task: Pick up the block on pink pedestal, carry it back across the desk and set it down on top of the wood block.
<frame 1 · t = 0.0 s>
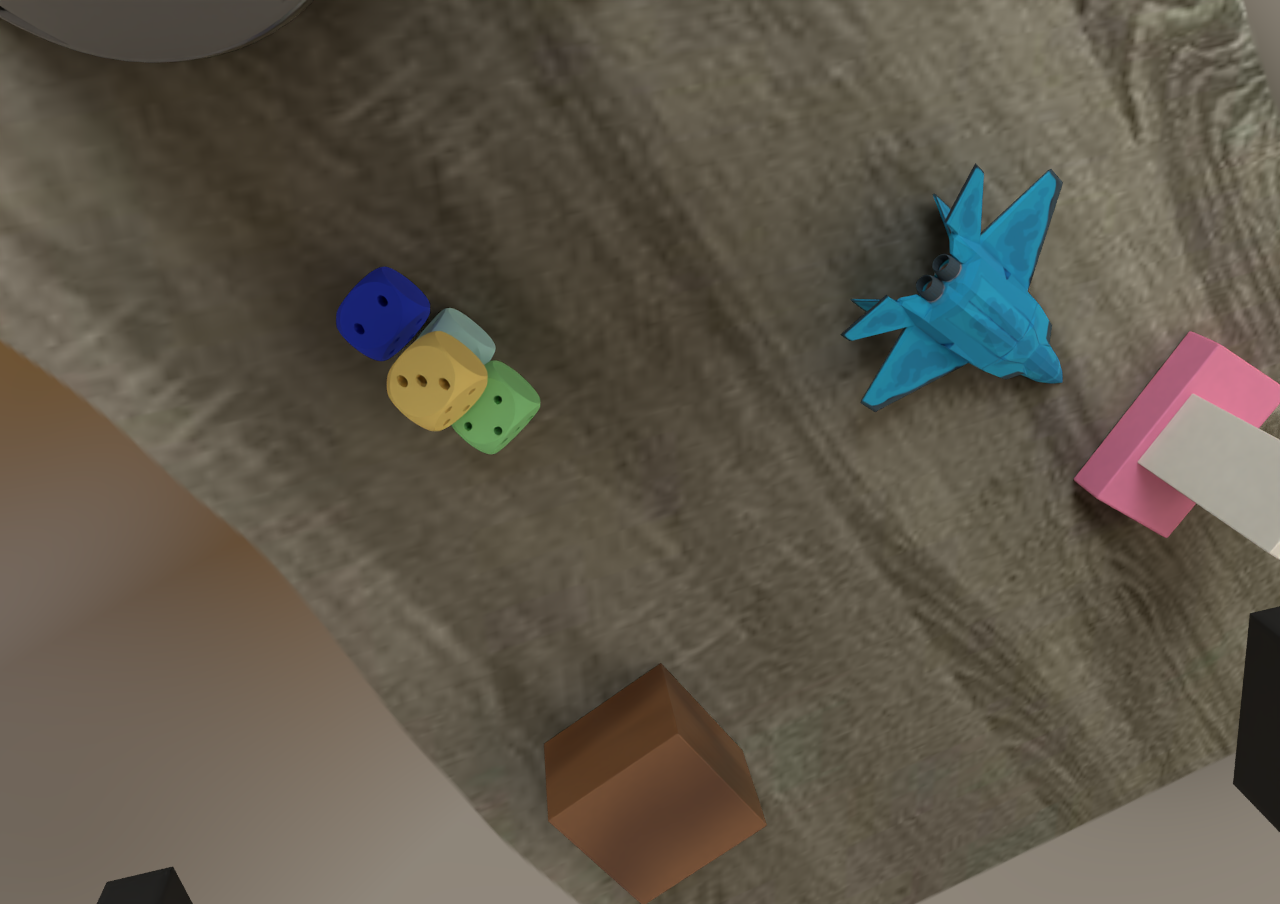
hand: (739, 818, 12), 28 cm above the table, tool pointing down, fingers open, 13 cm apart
wood block: (644, 747, 47), on the table
dice: (445, 338, 38), on the table
toy airplane: (939, 304, 40), on the table
block on pink pedestal: (1164, 428, 44), on the table
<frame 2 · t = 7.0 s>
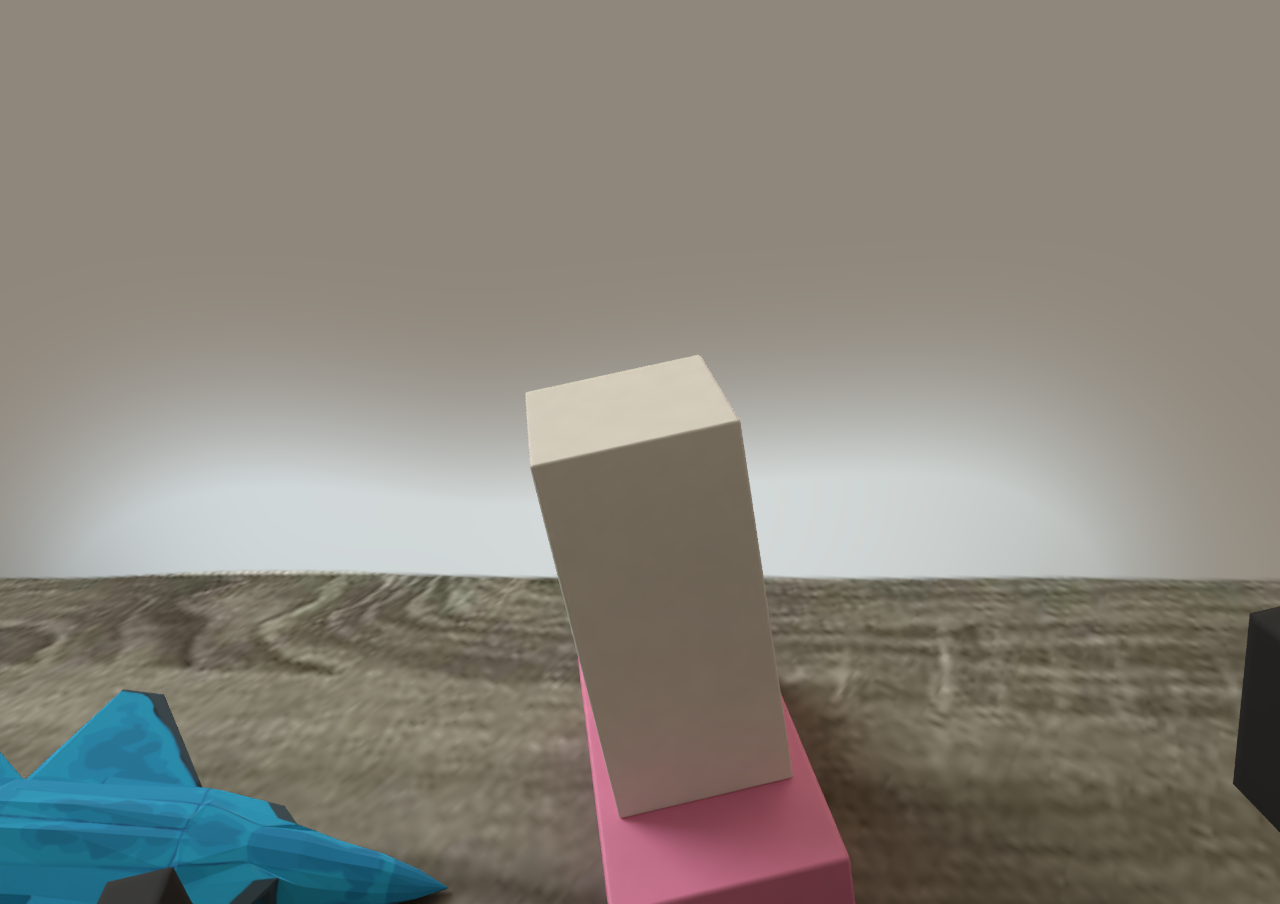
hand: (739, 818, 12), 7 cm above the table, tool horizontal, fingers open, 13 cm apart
block on pink pedestal: (704, 807, 22), on the table
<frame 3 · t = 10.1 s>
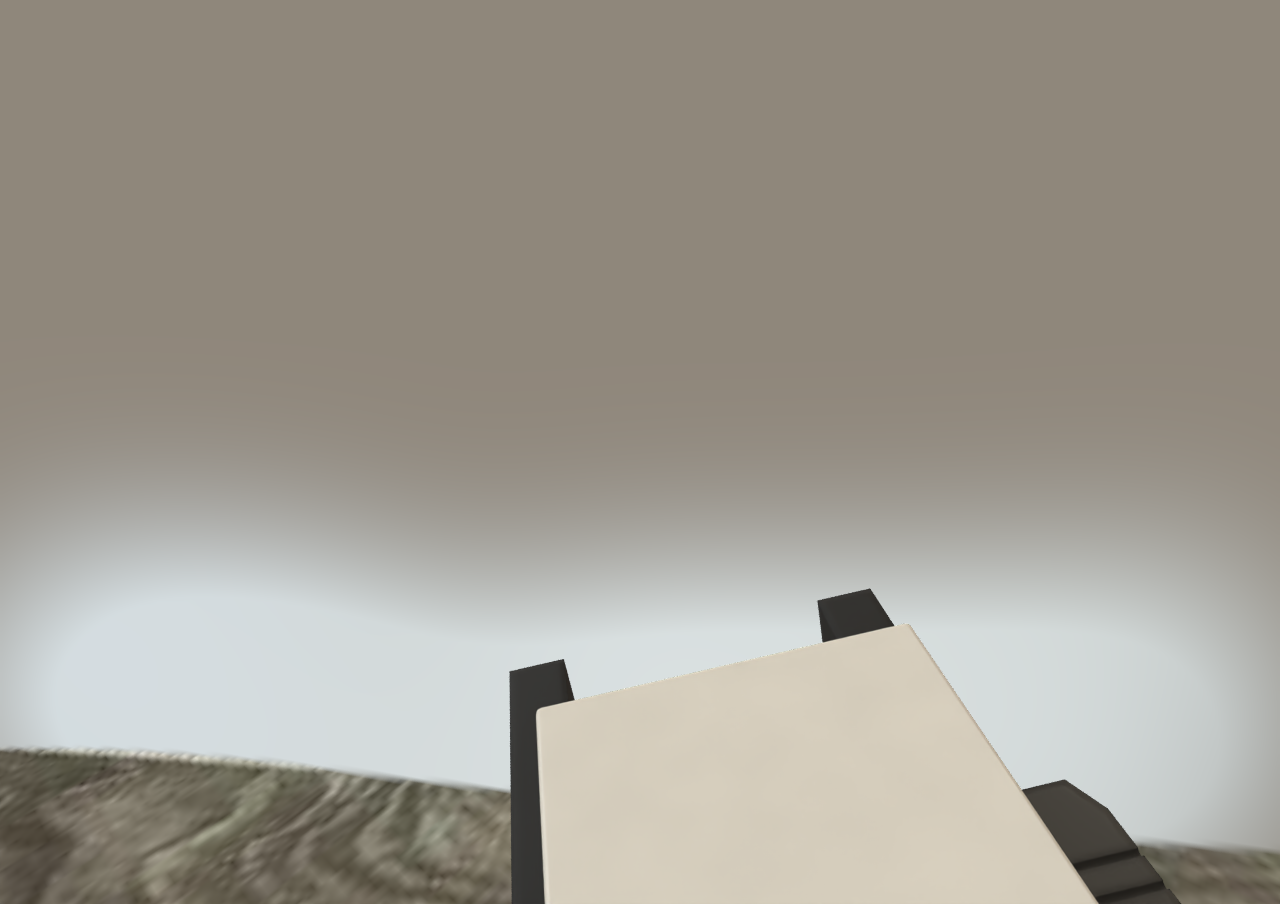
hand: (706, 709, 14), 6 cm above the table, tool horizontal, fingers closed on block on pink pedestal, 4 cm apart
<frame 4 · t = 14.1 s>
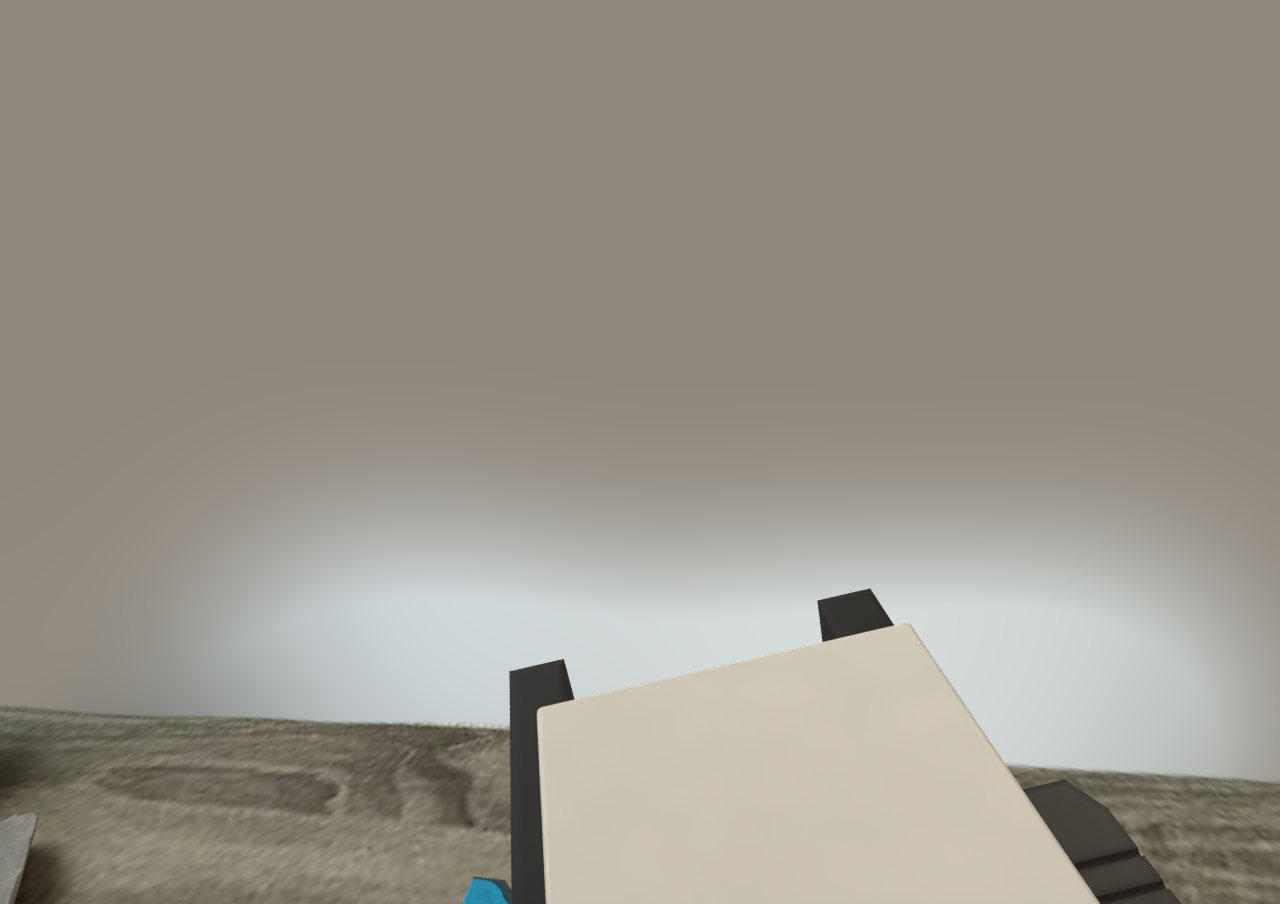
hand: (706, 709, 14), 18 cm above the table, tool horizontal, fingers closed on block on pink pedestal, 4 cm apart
when the fingers open (11 cm above the table, at t = 18.0 s): block on pink pedestal stays where it is, resting on wood block.
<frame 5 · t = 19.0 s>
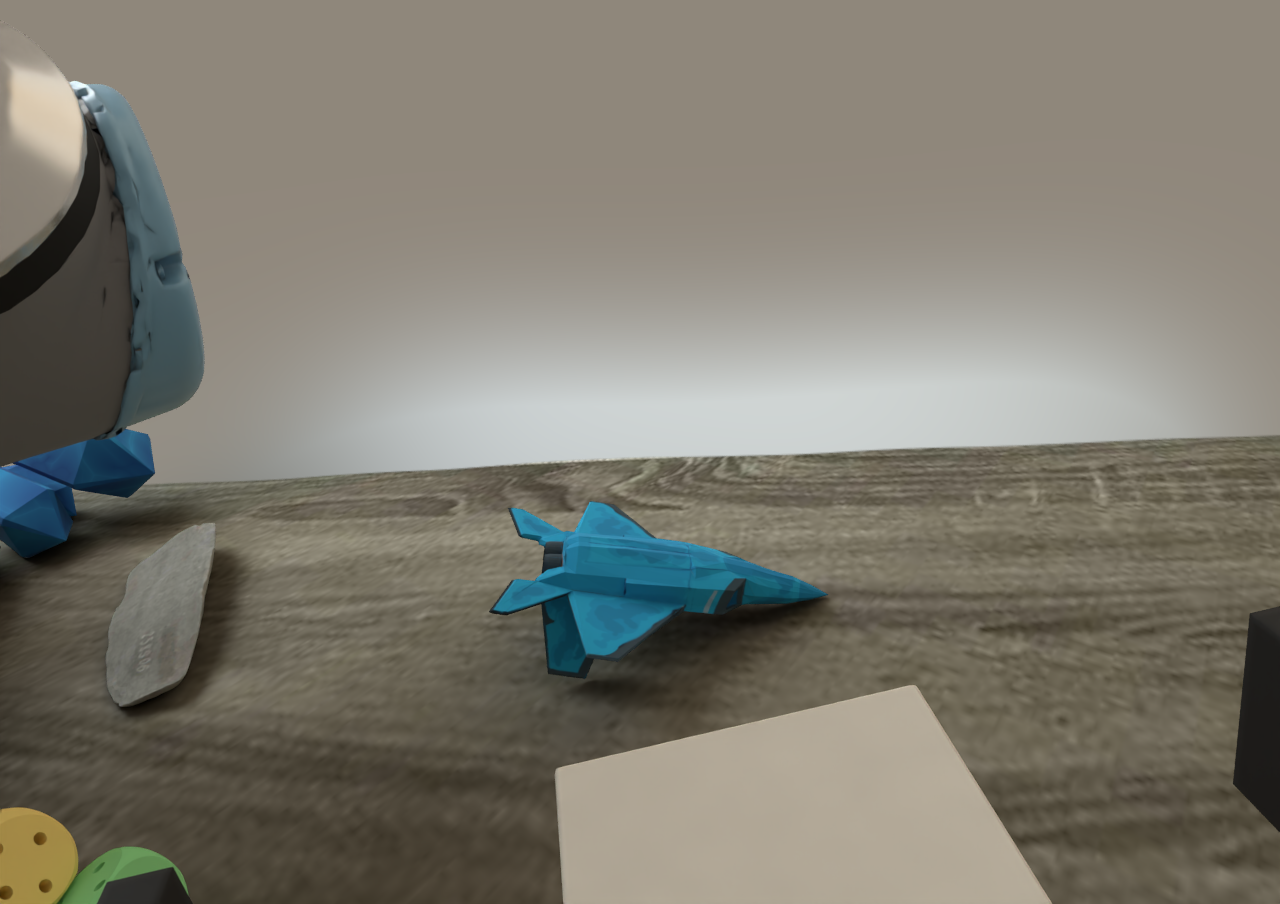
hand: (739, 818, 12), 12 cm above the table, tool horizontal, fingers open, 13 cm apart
stone tool: (107, 636, 44), on the table
toy airplane: (649, 639, 37), on the table
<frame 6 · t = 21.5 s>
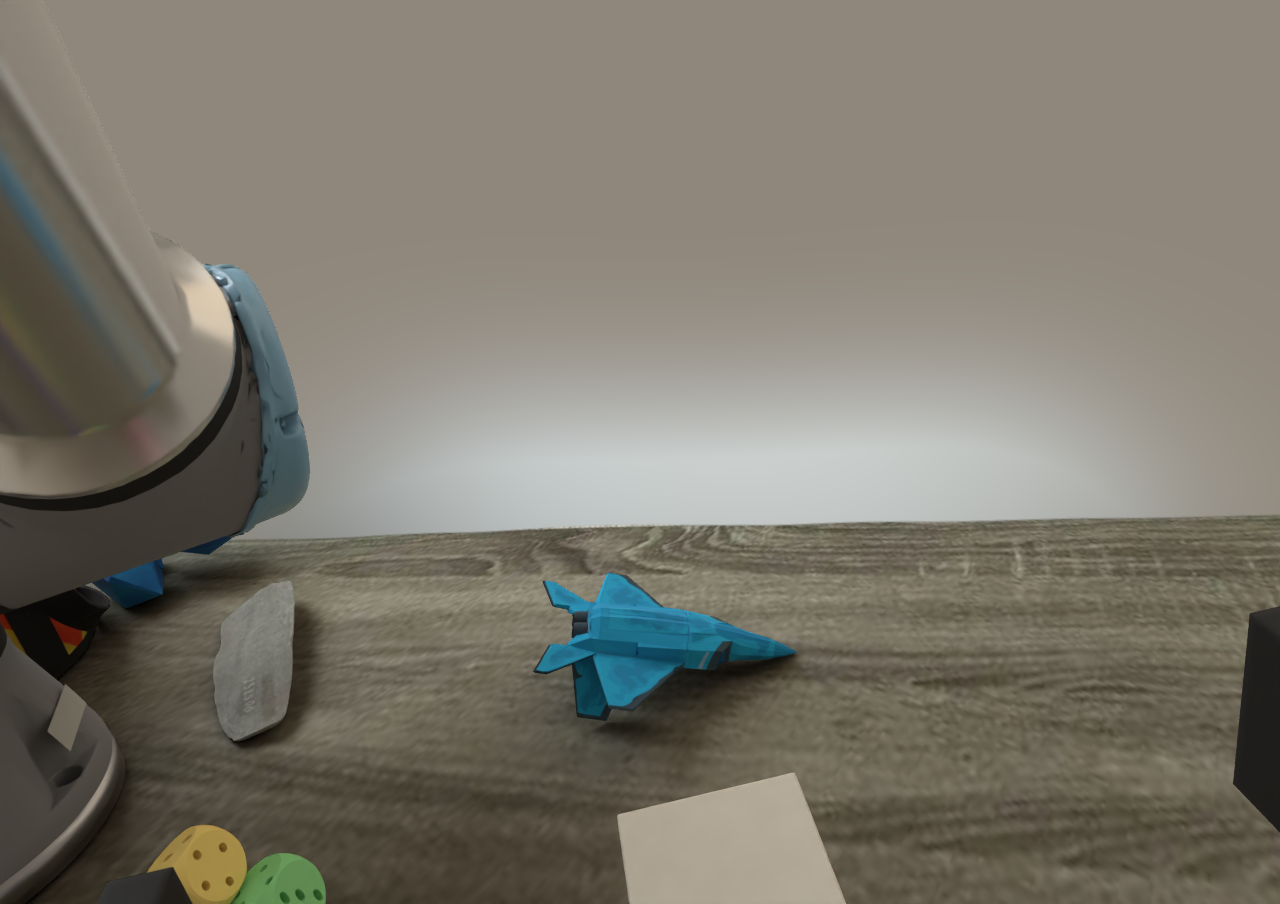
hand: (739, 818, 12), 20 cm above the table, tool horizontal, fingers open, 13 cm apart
crystal: (81, 519, 67), point 4 cm above the table
stone tool: (211, 680, 54), on the table
toy airplane: (656, 688, 46), on the table
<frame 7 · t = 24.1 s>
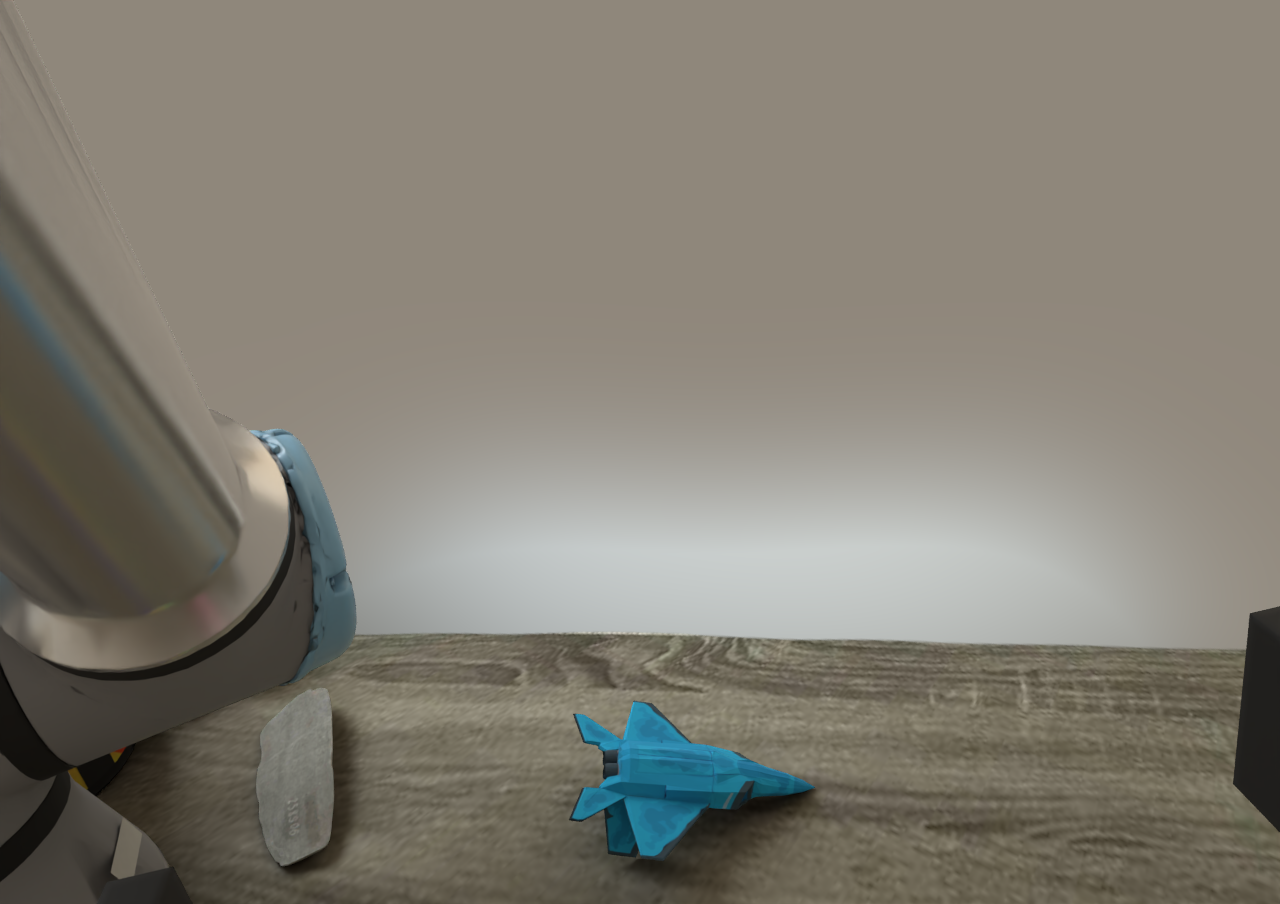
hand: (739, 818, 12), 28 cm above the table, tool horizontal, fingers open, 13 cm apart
stone tool: (254, 795, 56), on the table
toy airplane: (681, 821, 49), on the table
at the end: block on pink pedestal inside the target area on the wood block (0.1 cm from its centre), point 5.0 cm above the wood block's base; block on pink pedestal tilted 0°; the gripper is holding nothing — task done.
